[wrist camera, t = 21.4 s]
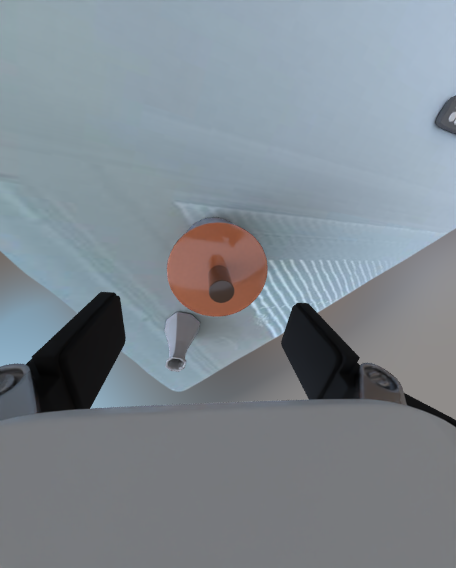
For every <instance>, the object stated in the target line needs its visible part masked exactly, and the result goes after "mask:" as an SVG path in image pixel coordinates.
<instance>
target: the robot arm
mask: <svg viewBox="0 0 456 568" xmlns="http://www.w3.org/2000/svg"><path fill="white" fill-rule="evenodd" d="M124 344H125V330H124V323H123V316H122V309H121V302H120V297H119V296H116V294H115V293H110V292H100V293H99V294H98V295H97V296H96V297H95V298H94V299H93V300H92V301H91V302H90V303H88V304H87V305H86V306H85V307H84V308H83V309H82V310H81V311H80V312H79V313H78V314H77V315H76V316H75V317H74V318H73V319H72V320H70V321H69V322H68V323H67V324H66V325H65V326H64V327H63V328H62V329H61V330H60V331H59V332H58V333H57V334H56V335H54V336H53V337H52V338H51V340H49V341H48V342H47V343H46V344H45V345H44V346H43V347H42V348H41V349H40V350H39V351H37V352H36V353H35V354H34V355H33V356H32V359H31V360H30V361H29V362H28V363H27V364H26V365H24V364H9V365H4V366H1V367H0V568H456V420H454V419H453V418H451V417H449V416H447V415H445V414H443V413H441V412H439V411H438V410H436V409H434V408H432V407H430V406H428V405H426V404H424V403H422V402H420V401H418V400H416V399H414V398H413V397H410V396H409V395H407V394H405V393H404V392H403V389H402V386H401V384H400V382H399V381H398V380H397V379H396V378H395V377H394V376H393V375H392V374H391V373H389V372H388V371H386V370H385V369H383V368H381V367H380V366H377V365H375V364H372V363H363V364H361V365H359V364H358V363H357V362H358V360H359V356H358V355H357V354H356V353H355V352H354V351H353V350H352V349H351V348H350V347H349V346H348V345H347V344H346V343H345V342H344V341H343V340H342V339H341V337H340V336H339V335H338V334H337V333H336V332H335V331H334V330H333V329H332V328H331V327H330V326H329V325H328V324H327V323H326V322H325V321H324V320H323V319H322V318H321V316H320V315H319V314H318V313H317V312H316V311H315V310H314V309H313V308H312V307H311V306H310V305H309V304H308V303H297V304H296V305H294V306H293V308H292V311H291V314H290V317H289V320H288V323H287V326H286V329H285V332H284V335H283V338H282V343H281V344H282V347H283V349H284V351H285V353H286V355H287V357H288V359H289V361H290V363H291V365H292V367H293V369H294V371H295V373H296V375H297V377H298V378H299V381H300V383H301V385H302V387H303V388H304V391H305V392H306V394H307V396H308V398H309V400H282V401H256V402H255V401H253V402H228V403H227V402H226V403H200V404H176V405H155V406H154V405H153V406H131V407H111V408H95V409H90V407H91V406H92V404H93V402H94V400H95V398H96V396H97V395H98V392H99V391H100V389H101V387H102V385H103V383H104V382H105V380H106V378H107V376H108V374H109V372H110V370H111V368H112V366H113V365H114V363H115V361H116V359H117V357H118V355H119V353H120V352H121V350H122V348H123V346H124Z"/></svg>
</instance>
